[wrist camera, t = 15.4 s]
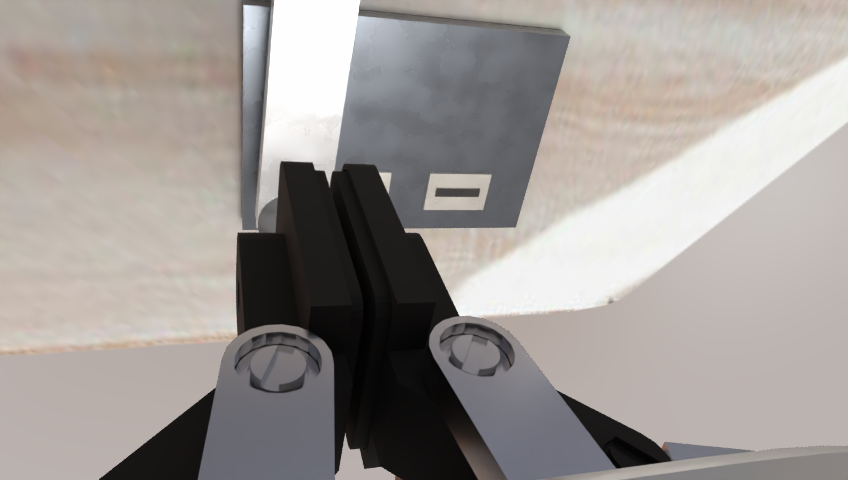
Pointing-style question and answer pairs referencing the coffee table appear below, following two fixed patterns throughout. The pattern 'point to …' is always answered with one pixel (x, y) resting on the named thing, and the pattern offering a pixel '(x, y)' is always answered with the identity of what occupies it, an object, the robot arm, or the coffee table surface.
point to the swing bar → (303, 92)
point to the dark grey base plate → (428, 112)
